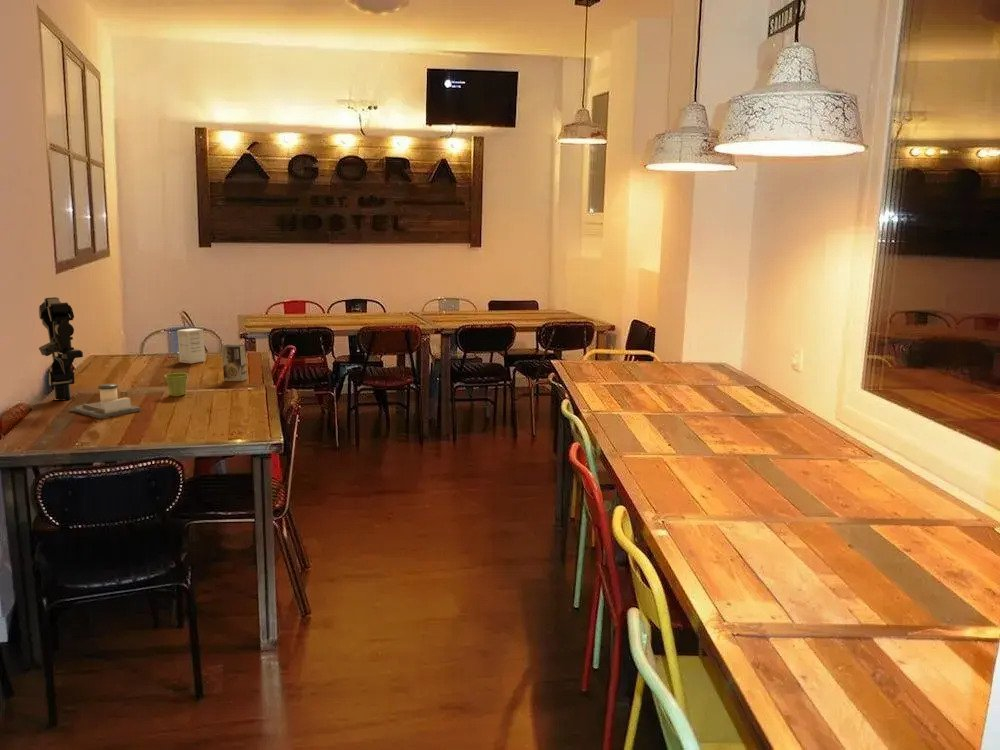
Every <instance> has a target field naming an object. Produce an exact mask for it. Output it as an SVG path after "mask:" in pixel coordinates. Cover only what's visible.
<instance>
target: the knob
mask: <svg viewBox="0 0 1000 750" xmlns="http://www.w3.org/2000/svg"><path fill="white" fill-rule="evenodd" d="M118 387H119V385H118V384H117V383H104V384H103V383H102V384H99V385H98V386H97V389H98V390H99V397H100V402H102V401H108V400H114V399H119V398H118Z"/></svg>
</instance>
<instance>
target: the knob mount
mask: <svg viewBox="0 0 1000 750" xmlns="http://www.w3.org/2000/svg"><path fill="white" fill-rule="evenodd" d="M71 410H73V411H76V412H75V413H77V412H79V413H78V414H80V413H82V414H81V415H84V414H85V415H84V416H87V415H89V416H88V417H90V416H92V417H91V418H94V417H96V418H95V419H97V418H99V419H98V420H101V419H100V418H103V419H106V418H105V417H108V418H111V417H110V416H113V417H116V416H115V415H119V416H122V415H121V414H124V415H127V414H126V413H129V414H132V413H131V412H134V413H138V412H137V411H139V412H141V407H140V406H136V405H133V404H131V398H130V397H121V398H118V399H114V400H108V401H102V402H101V401H98V402H92V403H91V402H90V403H81V405H80V404H79V405H74V406H70V411H71ZM73 411H72V412H73Z"/></svg>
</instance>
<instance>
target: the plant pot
mask: <svg viewBox="0 0 1000 750" xmlns="http://www.w3.org/2000/svg"><path fill="white" fill-rule="evenodd" d="M188 376H189V374H188V373H187V372H176V373H168V374H164V378H165V380H166V382H167V383H166V384H167V386H168V391H169V396H170V397H181V396H186V394H187V379H188Z"/></svg>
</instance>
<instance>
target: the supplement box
mask: <svg viewBox="0 0 1000 750" xmlns="http://www.w3.org/2000/svg"><path fill="white" fill-rule="evenodd" d="M176 333H177V342H178V343H177V345H178V355H179V363H185V364H195V363H202V362H206V361H207V360H206V350H205V337H204V329H203V328H192V327H191V328H184V329H178V330H177V332H176Z"/></svg>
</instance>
